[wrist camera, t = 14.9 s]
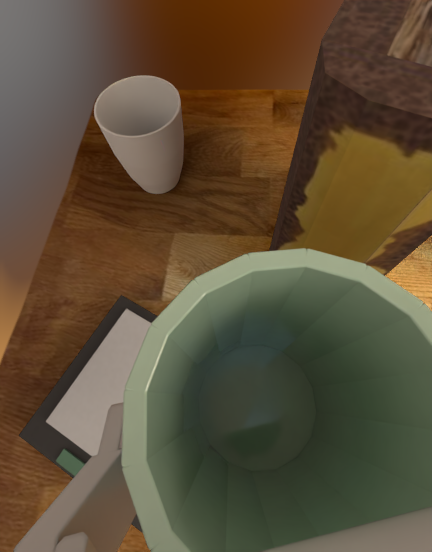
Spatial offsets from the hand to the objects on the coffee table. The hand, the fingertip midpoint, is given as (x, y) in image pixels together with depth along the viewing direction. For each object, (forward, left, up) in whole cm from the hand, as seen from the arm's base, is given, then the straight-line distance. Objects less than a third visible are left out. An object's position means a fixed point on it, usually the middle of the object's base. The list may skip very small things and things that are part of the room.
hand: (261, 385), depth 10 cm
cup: (+9, +26, -21) cm, 34 cm away
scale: (-7, +6, -20) cm, 22 cm away
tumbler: (0, 0, -5) cm, 5 cm away
